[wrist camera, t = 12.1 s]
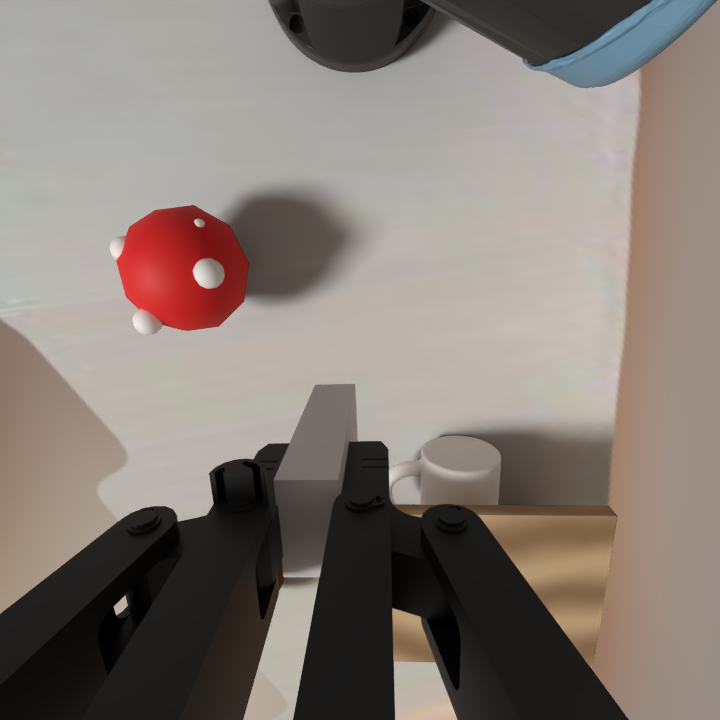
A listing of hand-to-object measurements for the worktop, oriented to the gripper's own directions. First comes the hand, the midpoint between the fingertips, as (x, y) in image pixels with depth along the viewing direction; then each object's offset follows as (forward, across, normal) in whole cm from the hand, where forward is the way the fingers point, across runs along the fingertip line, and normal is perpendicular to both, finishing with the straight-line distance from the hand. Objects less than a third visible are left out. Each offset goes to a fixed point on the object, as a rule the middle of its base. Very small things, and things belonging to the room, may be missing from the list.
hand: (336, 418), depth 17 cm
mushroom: (+30, -15, +4) cm, 33 cm away
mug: (+30, +7, -20) cm, 37 cm away
